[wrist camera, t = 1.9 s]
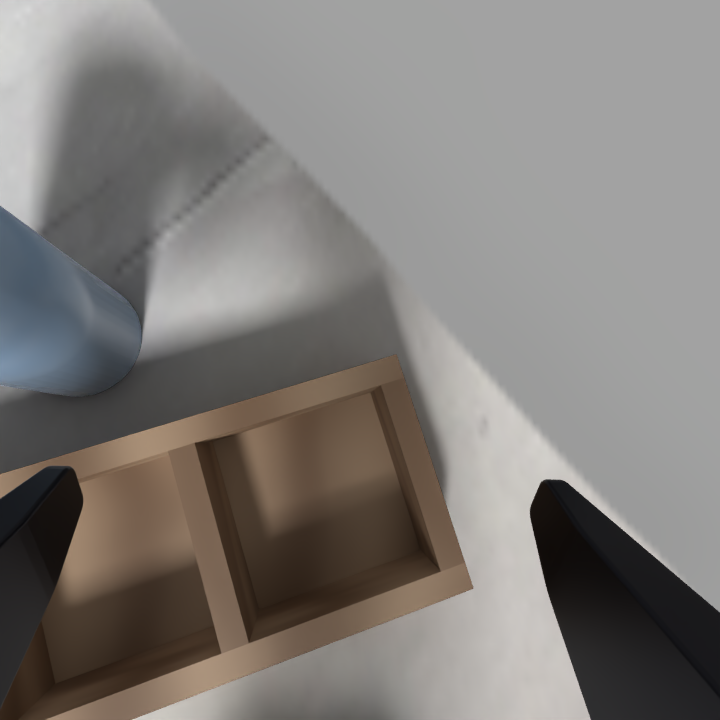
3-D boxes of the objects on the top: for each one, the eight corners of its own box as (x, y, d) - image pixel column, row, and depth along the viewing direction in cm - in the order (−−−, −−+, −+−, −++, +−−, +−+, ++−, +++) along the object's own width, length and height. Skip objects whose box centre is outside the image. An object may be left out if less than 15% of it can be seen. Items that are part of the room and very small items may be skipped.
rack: (-173, 787, 19) (-318, 891, 15) (-213, 550, 20) (-358, 582, 16) (442, 558, 23) (473, 588, 19) (380, 369, 24) (396, 354, 20)
